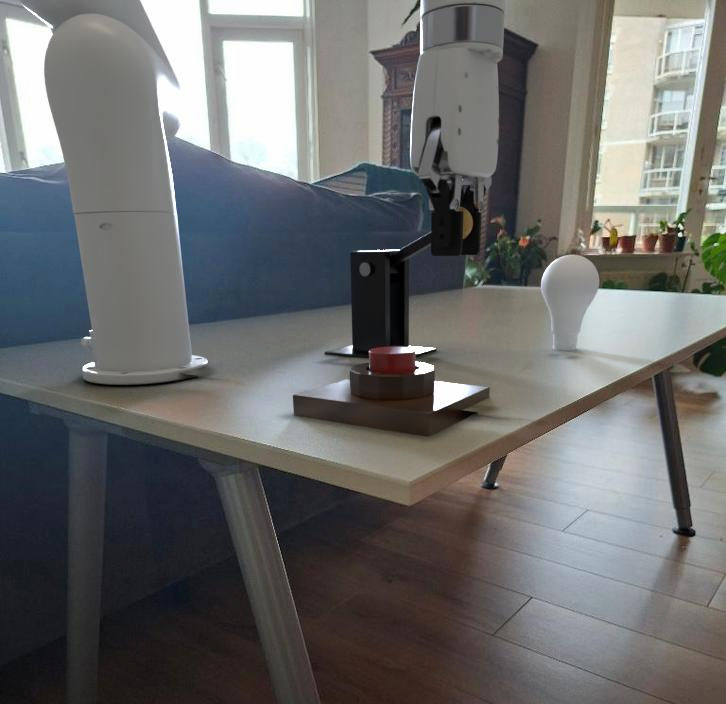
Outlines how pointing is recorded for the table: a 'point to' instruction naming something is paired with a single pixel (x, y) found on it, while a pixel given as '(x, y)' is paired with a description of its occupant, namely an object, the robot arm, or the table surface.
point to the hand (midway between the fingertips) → (455, 253)
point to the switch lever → (424, 244)
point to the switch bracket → (378, 305)
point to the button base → (391, 400)
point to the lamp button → (392, 359)
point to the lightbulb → (568, 297)
